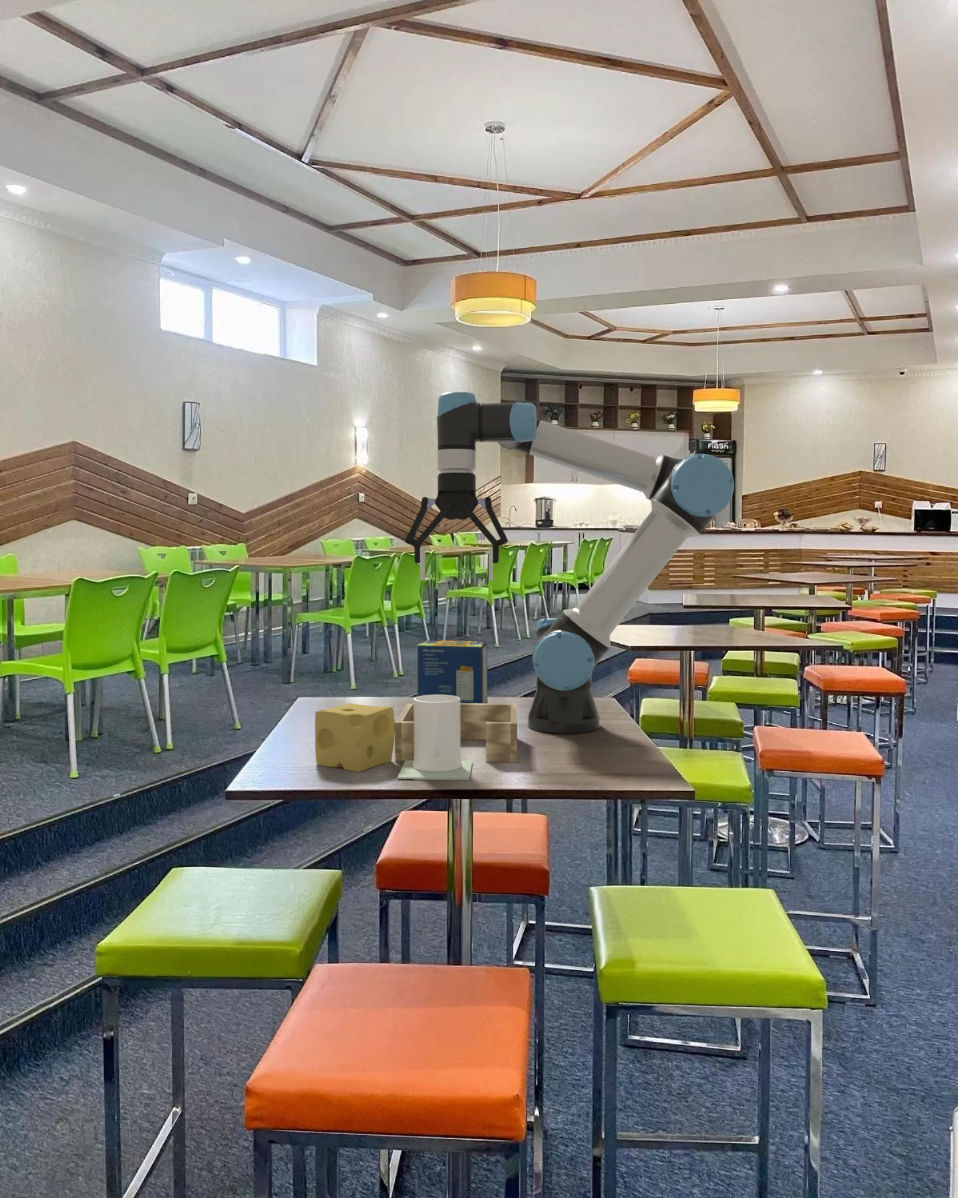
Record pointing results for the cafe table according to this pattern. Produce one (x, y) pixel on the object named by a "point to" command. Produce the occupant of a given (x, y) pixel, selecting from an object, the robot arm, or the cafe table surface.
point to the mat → (415, 774)
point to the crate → (468, 730)
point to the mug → (437, 733)
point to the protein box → (453, 669)
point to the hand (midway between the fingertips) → (456, 580)
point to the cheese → (354, 736)
